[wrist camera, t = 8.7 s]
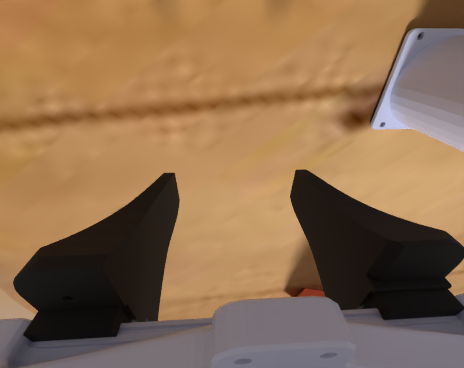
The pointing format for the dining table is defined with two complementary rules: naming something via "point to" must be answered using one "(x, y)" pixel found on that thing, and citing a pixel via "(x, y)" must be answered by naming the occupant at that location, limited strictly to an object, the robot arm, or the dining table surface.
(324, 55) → the dining table surface
